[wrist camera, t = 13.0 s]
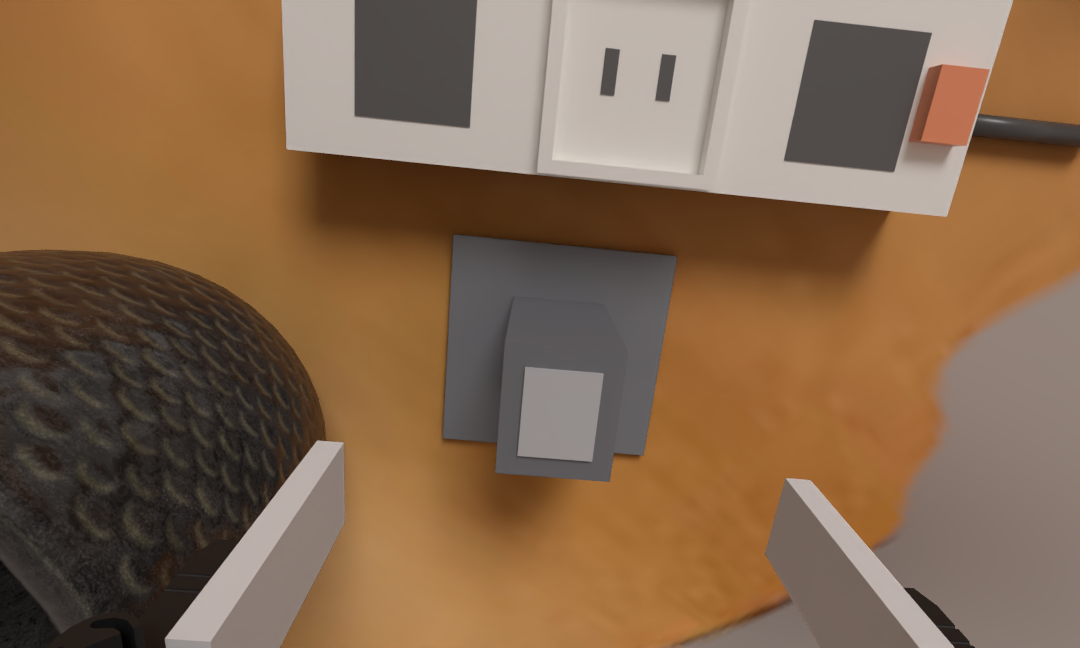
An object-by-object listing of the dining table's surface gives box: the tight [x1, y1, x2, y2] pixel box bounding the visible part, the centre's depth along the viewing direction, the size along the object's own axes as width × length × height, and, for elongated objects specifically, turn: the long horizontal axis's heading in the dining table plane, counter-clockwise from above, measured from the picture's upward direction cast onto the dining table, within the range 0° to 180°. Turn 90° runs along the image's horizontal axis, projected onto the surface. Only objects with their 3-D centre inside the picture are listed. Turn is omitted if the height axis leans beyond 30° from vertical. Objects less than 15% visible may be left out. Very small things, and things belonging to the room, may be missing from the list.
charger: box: [495, 296, 628, 482], centre depth 26 cm, size 5×6×8 cm
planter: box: [0, 250, 326, 648], centre depth 22 cm, size 20×20×19 cm
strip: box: [282, 0, 1080, 217], centre depth 24 cm, size 39×9×5 cm, turn 84°
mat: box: [443, 234, 677, 455], centre depth 30 cm, size 12×12×1 cm
